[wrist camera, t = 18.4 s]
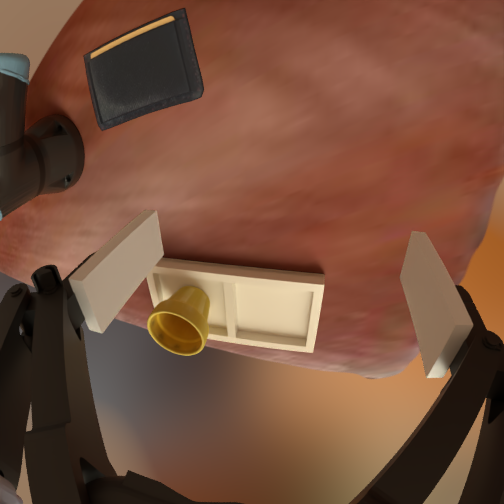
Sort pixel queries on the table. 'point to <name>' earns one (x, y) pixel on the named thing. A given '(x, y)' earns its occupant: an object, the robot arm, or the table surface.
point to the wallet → (144, 71)
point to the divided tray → (248, 301)
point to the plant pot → (181, 321)
